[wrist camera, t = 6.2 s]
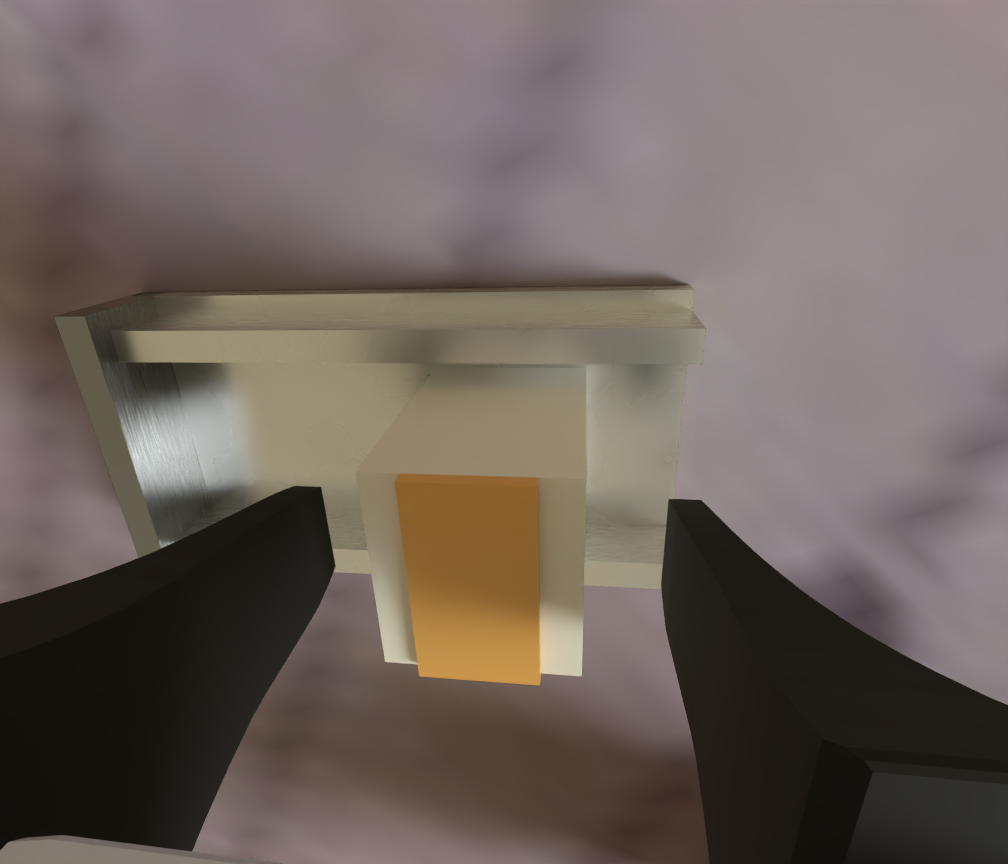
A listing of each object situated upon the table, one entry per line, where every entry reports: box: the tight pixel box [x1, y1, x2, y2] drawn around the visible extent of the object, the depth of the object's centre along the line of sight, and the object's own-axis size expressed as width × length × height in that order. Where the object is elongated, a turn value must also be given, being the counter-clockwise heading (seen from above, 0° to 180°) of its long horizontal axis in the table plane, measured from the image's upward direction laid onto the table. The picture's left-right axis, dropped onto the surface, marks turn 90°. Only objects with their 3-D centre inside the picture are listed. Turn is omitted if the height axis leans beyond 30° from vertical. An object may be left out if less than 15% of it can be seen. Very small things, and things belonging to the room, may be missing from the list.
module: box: [355, 367, 587, 685], centre depth 13 cm, size 4×4×6 cm
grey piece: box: [54, 285, 706, 589], centre depth 16 cm, size 15×8×3 cm, turn 92°
